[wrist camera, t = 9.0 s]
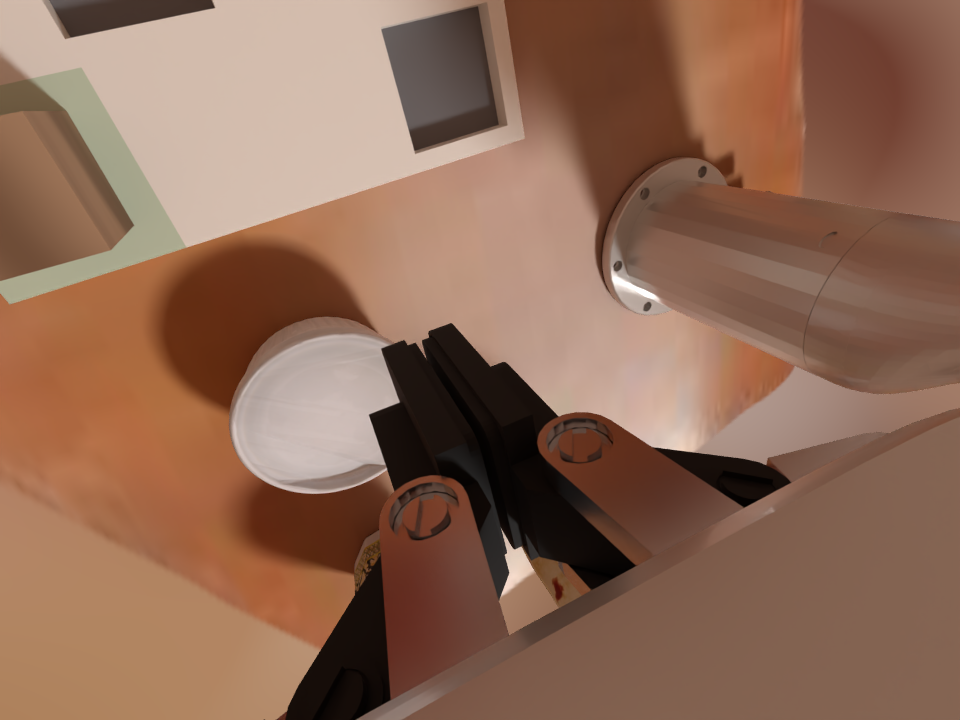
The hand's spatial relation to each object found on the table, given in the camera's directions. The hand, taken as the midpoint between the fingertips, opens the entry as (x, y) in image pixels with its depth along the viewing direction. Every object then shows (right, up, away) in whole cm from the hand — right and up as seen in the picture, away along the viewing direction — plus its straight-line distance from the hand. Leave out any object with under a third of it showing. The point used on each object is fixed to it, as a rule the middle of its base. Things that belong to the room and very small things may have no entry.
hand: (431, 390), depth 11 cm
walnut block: (-18, +8, +10) cm, 22 cm away
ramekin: (-10, -1, +21) cm, 23 cm away
